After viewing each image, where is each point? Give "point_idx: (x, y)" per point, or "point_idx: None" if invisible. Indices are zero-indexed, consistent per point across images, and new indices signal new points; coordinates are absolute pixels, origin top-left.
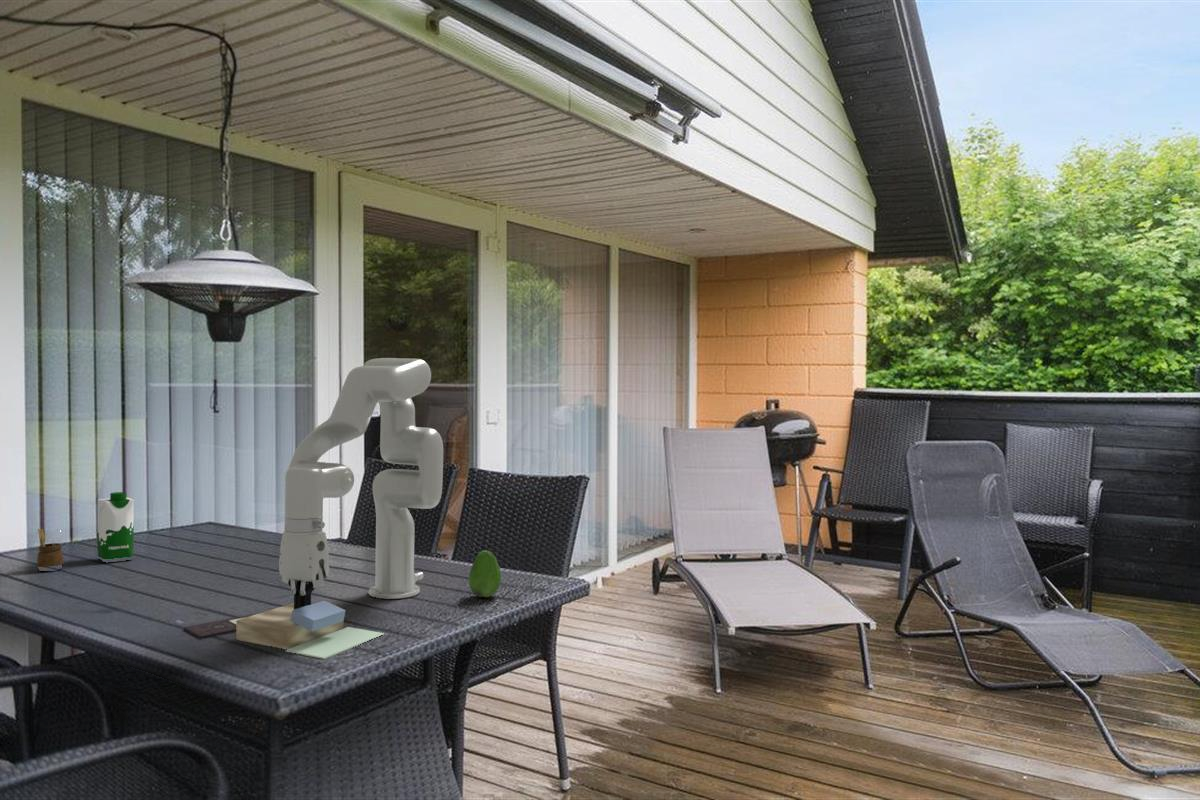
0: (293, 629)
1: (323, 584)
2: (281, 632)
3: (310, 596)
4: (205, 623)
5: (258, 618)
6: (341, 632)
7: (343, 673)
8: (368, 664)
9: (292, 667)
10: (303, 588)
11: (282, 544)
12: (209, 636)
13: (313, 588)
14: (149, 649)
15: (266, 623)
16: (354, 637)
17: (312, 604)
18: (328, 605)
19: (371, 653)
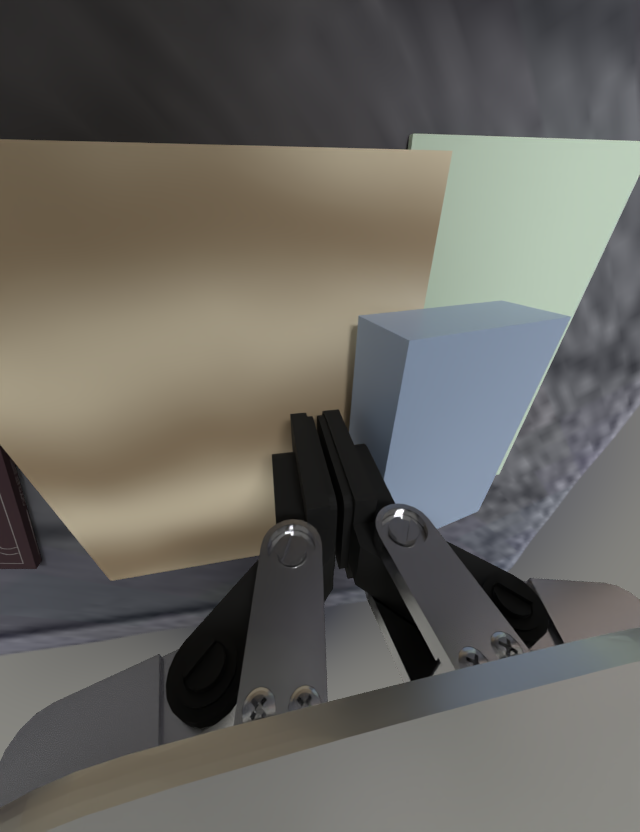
0: None
1: (636, 609)
2: None
3: (391, 499)
4: None
5: (149, 532)
6: (432, 260)
7: (567, 493)
8: (612, 438)
9: (450, 526)
10: (417, 630)
11: None
12: (34, 545)
13: (469, 569)
14: (61, 631)
15: (252, 542)
16: (519, 291)
17: (391, 456)
18: (467, 372)
19: (610, 379)
